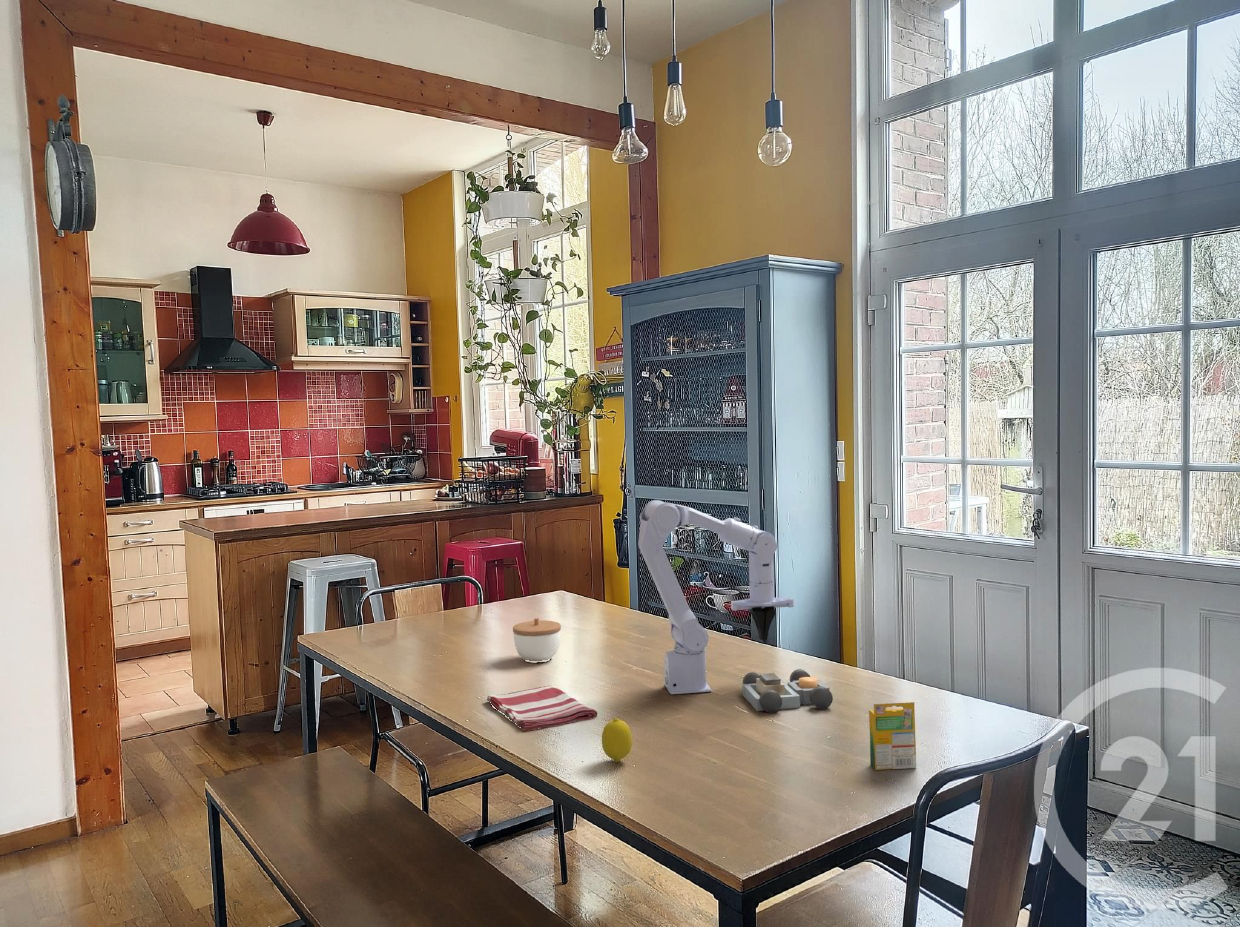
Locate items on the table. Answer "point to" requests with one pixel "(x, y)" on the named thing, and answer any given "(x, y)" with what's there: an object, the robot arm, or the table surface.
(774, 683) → the two-tone stepped block
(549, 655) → the lidded bowl
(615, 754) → the lemon
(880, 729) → the crayon box
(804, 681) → the orange rounded peg
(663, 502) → the robot arm
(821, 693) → the frame
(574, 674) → the table surface
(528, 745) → the table surface
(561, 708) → the dish towel
